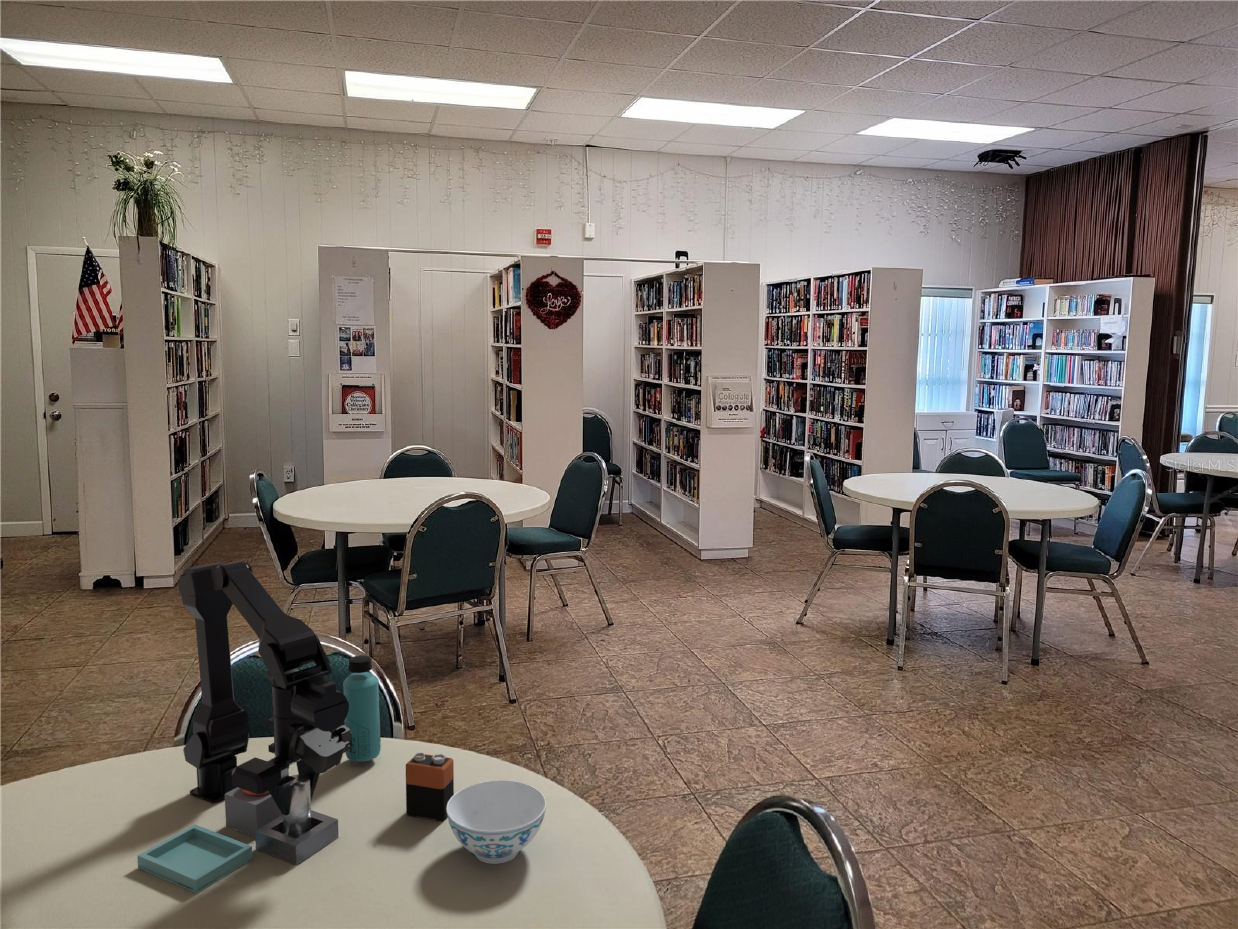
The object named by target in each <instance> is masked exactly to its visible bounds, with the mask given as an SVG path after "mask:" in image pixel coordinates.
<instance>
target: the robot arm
mask: <svg viewBox="0 0 1238 929" xmlns="http://www.w3.org/2000/svg"><path fill="white" fill-rule="evenodd" d="M177 588H178V592H179V594H180V595H181V600H182V601H181V602H182V606H184V607H185V609H187V611H188V612H189V613H190V615H192V617H193V618H194V621H195V622H194V623H195V633H196V643H197V655H198V668H199V678H200V679H199V680H200V691H201V705H200V707H199V709H198V710H197V712H196V714H195V716H194V718H193V721H192V732H193V733H192V735H191V737H190V738H189V740H188V741H187V742H186V744H185V746H184V747H183V755H184V759H185V762H186V763H187V764H190V765H191V766H192V767H194V768H196V780H197V781H196V782H197V786H196V787H194V788H192V789H190V790H189V795H192V796H194V797H196V798H200V799H202V800H206V801H208V802H210V803H218V802H219V801H221V800H223V799H224V800H225V794H226V793H227V792H229V791H231V790H233V789H235V788H237V787H238V788H241V789H244V790H246V791H249V792H252V793H255V794H262V793H265V792H267V791H269V793H270V795H271V796H272V798H273V799H274V801H275V803H276V805H277V806H278V808H279V810H280V811H281V813H282V814H283V815H286V816H287V815H289V809H290V784H291V783H292V782H293V781H294V780H295V777H292V775H289V774H290V773H289V769H290V766H291V765H293V764H296V768H297V775H298V774H302V775H307V776H308V777H309V778H310V800H311V801H312V799H313V796H314V793H315V789H316V786H317V784H318V781H319V778H320V775H321V774H324V773H326V772H328V770H330V769H333V767H335V766H339V765H341V763H342V762H341V761H342V760H343V759H342V758H343V755H344V754H346V752H347V751H349V750H350V745H352V733H351V732H350V729H349V728H348V727H346V726H345V724H344V723H345V719H346V717H347V714H348V711H349V702H348V701H347V698H346V697H345V695H344V693H342V692H340V691H338V690H337V684H336V682H333V681H329V680H327V679H324V677H326V676H330V675H332V674H333V671H332V668H331V665H330V663H331V660H330V659H329V656H328V655H327V653H326V651H325V649H324V648H323V645H322V643H321V641H320V639H319V636H318V635H317V634H316V632H315V631H314V630H313V629H312V628H311V627H309V625H308V624H306V623H305V622H304V621H303V620H302V619H301V618H300V619H299V618H297V617H293V616H290V615H288V614H286V613H285V611H283V609H282V608H281V606H280V605H279V604H278V603H277V602H276V601H275V599H274V598H273V597H272V596H271V595H270V593H269V592H268V591H267V589H266V588H265V587H264V586H263V585H262V583H261V582H260V581H259V579H257V577H256V576H255V575H254V573H253V569H252V566H251V564H250V563H249V562H247V561H243V560H238V561H232V562H228V563H227V562H226V561H218V562H213V563H208V564H203V565H197V566H193V567H186V569H184V570H183V572H182V574H180V575H179V577H178V580H177ZM233 606H234V607H235V608H236V609H237V611H238V612H239V614H240V615H241V616H242V617H243V619H244V620H245V621H246V622H247V624H248V625H249V626H250V628H251V629H252V630H253V631H254V633H255V634H256V636H257V638H258V640H259V641H258V654H259V656H260V657H261V659H262V662H263V664H264V666H265V667H266V669H267V672H266V673H265V675H264V676H265V678H266V679H268V680H270V681H271V684H272V685H271V689H272V690H271V691H272V693H271V694H272V695H271V696H272V717H270V718H268V719H267V720H266V721H267V722H266V723H267V727H270V728H273V743H270V744H268V753H271V754H274V757H272V758H271V759H269V760H264V759H262V758H259V757H253V758H251V759H249V760H247V761H245V762H242V763H240V764H239V765H238V757H237V755H240V754H244V753H246V752H247V751H248V746H249V740H250V735H251V728H250V725H249V713H248V712H247V711H246V709H242V707H241V706H240V705H239V703H238V702H237V701H236V700H235V696H234V684H233V672H232V670H233V669H232V661H231V660H232V658H231V648H230V646H231V645H230V635H229V625H228V615H229V613H230V611H231V609H232V607H233ZM312 664H315V665H314V666H310V667H306V668H303V669H298V668H302V667H305V666H309V665H312ZM343 724H344V725H343Z"/></svg>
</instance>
